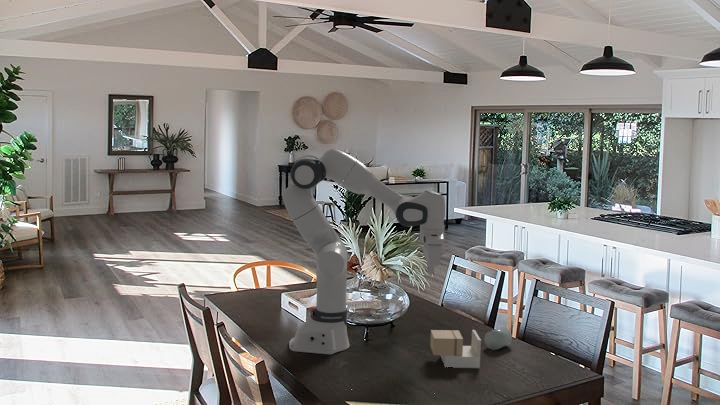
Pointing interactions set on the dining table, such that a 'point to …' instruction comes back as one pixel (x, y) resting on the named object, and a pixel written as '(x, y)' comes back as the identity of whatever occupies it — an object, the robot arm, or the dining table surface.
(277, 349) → the dining table surface
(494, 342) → the grey rounded stone
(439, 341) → the carton
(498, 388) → the dining table surface
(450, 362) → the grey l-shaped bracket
